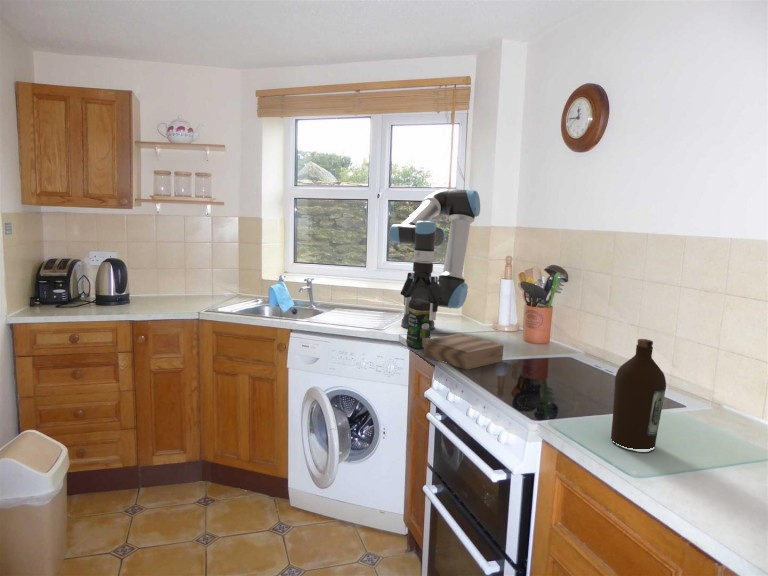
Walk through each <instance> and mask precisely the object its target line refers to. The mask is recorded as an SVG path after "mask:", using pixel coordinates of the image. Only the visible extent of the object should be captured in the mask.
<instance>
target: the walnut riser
mask: <svg viewBox="0 0 768 576" xmlns="http://www.w3.org/2000/svg"><path fill="white" fill-rule="evenodd" d="M423 356H424V357H427V358H429V359H433V360H436V361H439V362H441V361H444V362H447V363H449V364H448V365H450V366H453V367H457V368H461V369H463V370H466V371H468V370H472V369H475V368H480V367H484V366H488V365H492V364H497V363H501V362H503V358H504V344H502V343H498V342H493V341H490V340H487V339H482V338H478V337H474V336H471V335H468V334H463V333H456V334H451V335H446V336H438V337H434V338H433V337H432V338H430V339H426V340H425V346H424V349H423ZM444 362H443V363H444ZM447 363H446V364H447Z"/></svg>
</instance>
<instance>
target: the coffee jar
mask: <svg viewBox="0 0 768 576" xmlns="http://www.w3.org/2000/svg"><path fill="white" fill-rule="evenodd" d="M430 303H431V302H429V301H425V300H422V299H411V300H410V301H409V307H408V310H409V320H408V328H407V332H406V345H408V346H409V347H411V348H413V349H421V350H424V346H425V340H426V339H431V331H432V329H431V320H429V316H430Z"/></svg>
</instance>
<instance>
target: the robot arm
mask: <svg viewBox="0 0 768 576" xmlns="http://www.w3.org/2000/svg"><path fill="white" fill-rule="evenodd" d="M480 213H481V198H480V195H479V193H478V191H477V190H475V189H454V188H451V189H450V188H442V189H438V190H437V191H434V192H432V193H430V194H429V195H427V196H426V197H424V198H423V200H422V201H421V203H420V205H419V207H418V208H416V210H414V211H413V212H412V213H411V214H410V215H409V217H407V218H406V219H405V220H404V221H403V222H402V223H401V224H400V223H399V224H398V223H396V224H392V225H391V226H390V229H389V231H388V233H389V240H390V242H391V243H395V244H399V245H400V244H404V245H406V244H407V245H414V250H413V261H414V262H413V265H412V267H413V268H412V271H413V272H408V273H407V275H406V276H407V277H406V280H405V282H404V284H403V286H402V289H401V292H400V295H401V296H403V305H404V311H403V317H402V319H401V325H400V326H402V328H405V329H408V320H409V310H408V307H409V301H410V300H411V299H422V300H425V301H429V302H431V303H430V316H429V320H431V330H434V329H435V321H436V320H437V312H438V307H439V308H448V309H460V308H461V307H463V305H464V303H465V302H466V299H467V296H468V293H469V292H468V288H469V287H468V284H467V283H466V282H465V281H466V279H465V278H464V276H463V272H464V265H465V260H466V253H467V246H468V241H469V240H468V239H469V234H470V227H471V224H472V223H474V221H475V220H476V219H475V218H476V217H479V215H480ZM439 215H440V216H441V215H443V216H445V215H446V216H448V219H449V220H450V227H449V232H448V233H449V234H448V239H447V233H446V232H445V230H444V229H443V228H442V227H439V226H437V223H436V222H435V221H431V220H432V219H433V218H436V217H438V216H439ZM446 239H447V245H446V251H445V257H444V258H445V259H444V263H443V264H444V265H443V269H442V273H440V274H439V275H438V276H434V275H432V273H433V272H434V264H433V262H434V260H435V259H434V257H435V256H434V255H435V247H438V246H441V245H443V244H444V243H445V241H446Z"/></svg>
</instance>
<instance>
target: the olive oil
mask: <svg viewBox="0 0 768 576" xmlns="http://www.w3.org/2000/svg"><path fill="white" fill-rule="evenodd" d="M653 345H654V341H653V340H651V339H648V338H647V339H646V338H638V339H637V344H636V346H635V347H636V348H635V355H633V357H631V358H630V359H628V360H627V361H626V362H624V363H623V364H621V366H619V368H618V369H617V372H616V374H615V378H614V391H613V392H614V393H613V405H612V407H613V408H612V422H611V433H610V440H611V439H612V441H614V442H615V443H617V444H619V445H621V446H624V447H627V448H633V449H650V448H653V447H655V448H656V444H657V438H658V437H657V436H658V432H659V426H660V422H661V416H662V410H663V405H664V400H665V395H666V390H667V381H666V377H665V373H664V372H663V371H662V369H661V368H660V367H659V366H658V364H657V363H656V362H655V361H654V360H655V359H653V358H652V357H653V355H652V354H653V351H654V350H653V348H654V347H653ZM612 441H611V442H612Z"/></svg>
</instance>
